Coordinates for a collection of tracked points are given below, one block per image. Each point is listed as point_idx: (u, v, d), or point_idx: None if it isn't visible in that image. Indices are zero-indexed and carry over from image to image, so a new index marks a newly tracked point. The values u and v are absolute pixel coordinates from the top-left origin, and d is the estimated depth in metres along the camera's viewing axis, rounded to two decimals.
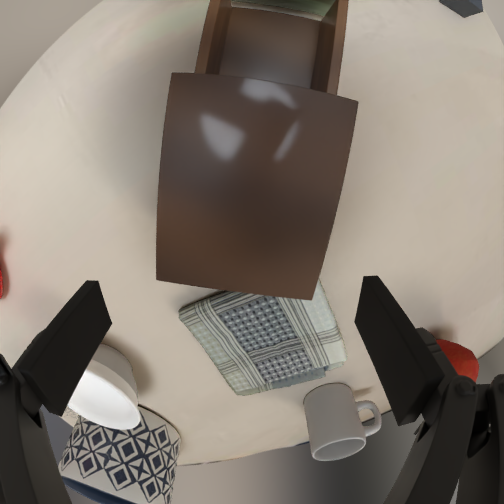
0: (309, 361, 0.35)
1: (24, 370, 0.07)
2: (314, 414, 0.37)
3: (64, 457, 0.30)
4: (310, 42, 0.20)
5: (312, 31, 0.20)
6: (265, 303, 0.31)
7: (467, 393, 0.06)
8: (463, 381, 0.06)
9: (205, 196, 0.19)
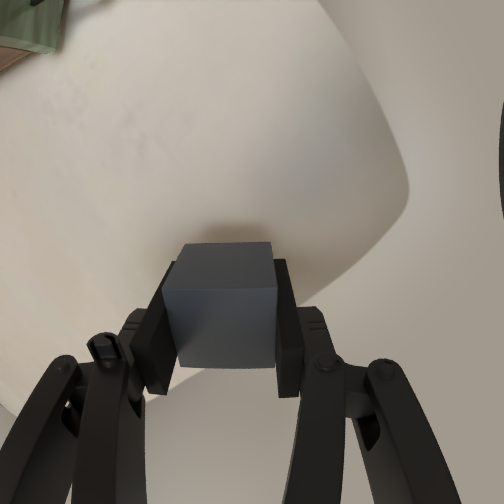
0: None
1: (140, 347, 0.09)
2: None
3: None
4: None
5: None
6: None
7: (330, 369, 0.08)
8: (322, 358, 0.08)
9: None
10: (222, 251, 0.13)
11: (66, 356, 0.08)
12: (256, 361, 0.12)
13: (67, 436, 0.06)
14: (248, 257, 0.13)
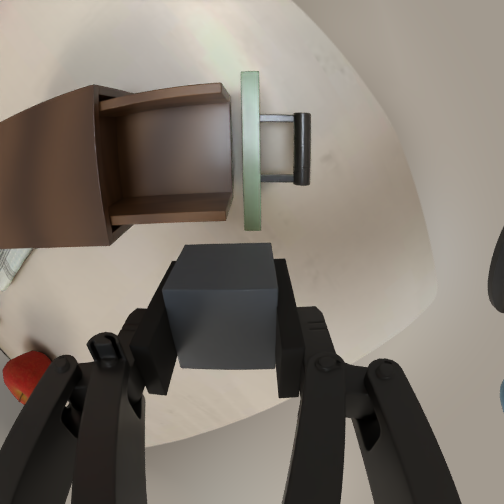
0: None
1: (140, 347, 0.09)
2: None
3: None
4: (202, 186, 0.26)
5: (216, 185, 0.26)
6: None
7: (330, 369, 0.08)
8: (322, 358, 0.08)
9: (21, 149, 0.16)
10: (222, 252, 0.13)
11: (66, 357, 0.08)
12: (257, 362, 0.12)
13: (67, 436, 0.06)
14: (248, 258, 0.13)
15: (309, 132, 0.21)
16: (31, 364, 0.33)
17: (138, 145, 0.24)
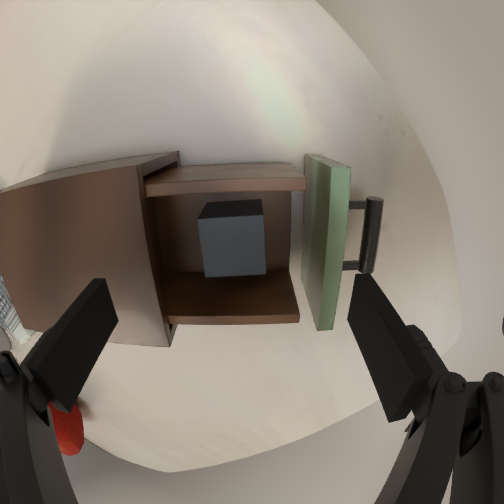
0: (6, 315, 0.28)
1: (33, 367, 0.07)
2: None
3: None
4: None
5: (272, 264, 0.25)
6: None
7: (456, 390, 0.06)
8: (452, 378, 0.06)
9: (40, 232, 0.15)
10: (231, 204, 0.21)
11: None
12: (254, 268, 0.20)
13: None
14: (247, 205, 0.20)
15: (380, 220, 0.19)
16: (58, 412, 0.32)
17: (182, 217, 0.23)
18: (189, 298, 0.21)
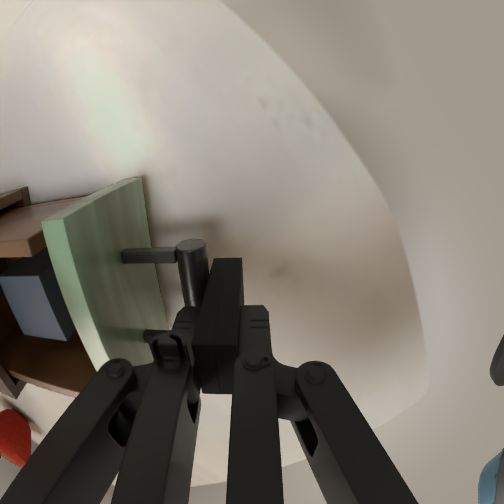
0: None
1: (204, 345, 0.09)
2: None
3: None
4: None
5: None
6: None
7: (258, 367, 0.08)
8: (249, 356, 0.08)
9: None
10: (44, 252, 0.14)
11: (121, 360, 0.08)
12: (54, 333, 0.13)
13: (111, 445, 0.06)
14: None
15: (203, 280, 0.13)
16: (5, 427, 0.25)
17: None
18: (23, 350, 0.14)
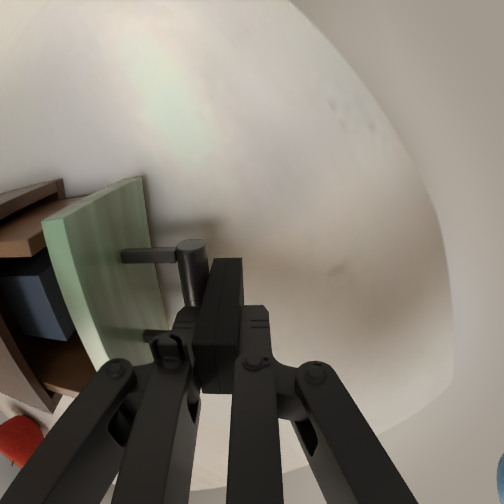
0: None
1: (204, 345, 0.09)
2: None
3: None
4: None
5: None
6: None
7: (258, 367, 0.08)
8: (249, 356, 0.08)
9: None
10: (44, 252, 0.14)
11: (121, 360, 0.08)
12: (54, 333, 0.13)
13: (111, 445, 0.06)
14: None
15: (203, 280, 0.13)
16: (18, 434, 0.25)
17: None
18: (23, 350, 0.14)
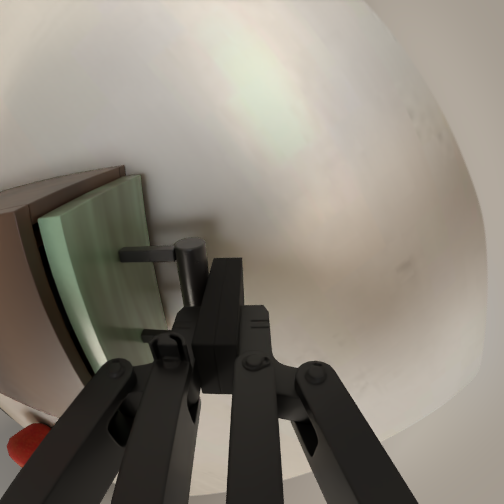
0: None
1: (204, 345, 0.09)
2: None
3: None
4: None
5: None
6: None
7: (258, 367, 0.08)
8: (249, 356, 0.08)
9: None
10: (41, 251, 0.14)
11: (121, 360, 0.08)
12: None
13: (111, 445, 0.06)
14: None
15: (202, 279, 0.12)
16: (36, 444, 0.25)
17: None
18: None
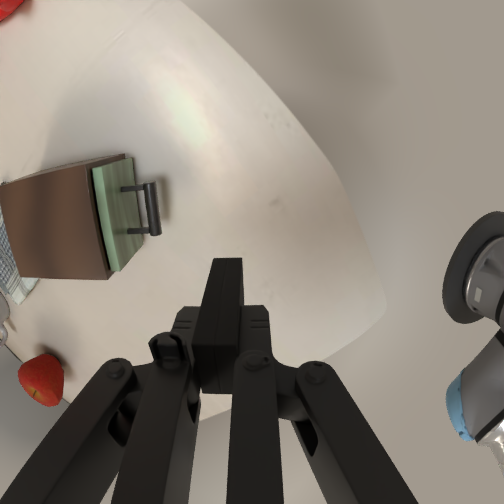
0: (7, 280, 0.37)
1: (204, 345, 0.09)
2: None
3: None
4: (103, 233, 0.33)
5: None
6: None
7: (258, 367, 0.08)
8: (249, 356, 0.08)
9: (34, 206, 0.24)
10: None
11: (121, 360, 0.08)
12: None
13: (111, 445, 0.06)
14: None
15: (153, 196, 0.28)
16: (43, 365, 0.41)
17: None
18: None
